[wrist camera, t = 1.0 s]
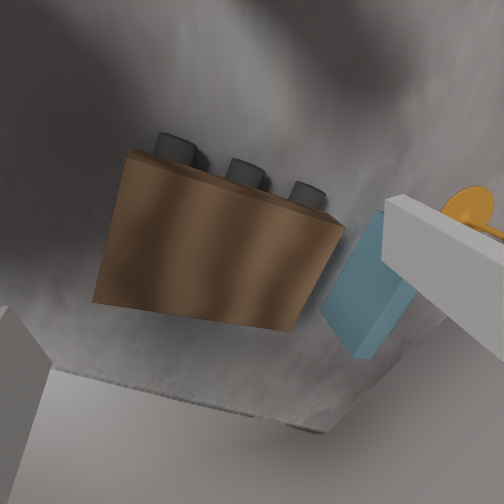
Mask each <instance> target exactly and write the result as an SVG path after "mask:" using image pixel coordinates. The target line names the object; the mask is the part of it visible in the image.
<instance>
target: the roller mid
mask: <svg viewBox="0 0 504 504" xmlns="http://www.w3.org/2000/svg"><path fill="white" fill-rule="evenodd" d="M264 173H265V171H264V170H262V169H261V168H259V167H257V166H255V165H253V164H250V163H247V162H244V161H242V160H239V159H235V158H232V161H231V163H230V166H229V169H228V172H227V175H226V177H225V179H228V180H231V181H234V182H237V183H240V184H243V185H246V186H249V187H252V188H255V189H258V188H259V186H260V183H261V181H262V178H263V176H264Z"/></svg>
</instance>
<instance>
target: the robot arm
mask: <svg viewBox="0 0 504 504" xmlns="http://www.w3.org/2000/svg"><path fill="white" fill-rule="evenodd" d="M381 261H383V262H384V263H385V264H386V265H387V266H389V267H390V268H391V269H392V270H393V271H395V272H396V273H397V274H398V275H399V276H401V277H402V278H403V279H404V280H405V281H407V282H408V283H409V284H410V285H411V286H413V287H414V288H415V289H416V290H417V291H419V292H420V293H421V294H422V295H423V296H425V297H426V298H427V299H428V300H429V301H431V302H432V303H433V304H434V305H435V306H437V307H438V308H439V309H440V310H441V311H443V312H444V313H445V314H446V315H447V316H449V317H450V318H451V319H452V320H454V321H455V322H456V323H457V324H458V325H459V326H461V327H462V328H463V329H464V330H465V331H467V332H468V333H469V334H470V335H472V336H473V337H474V338H475V339H476V340H477V341H479V342H480V343H481V344H482V345H484V346H485V347H486V348H487V349H488V350H489V351H491V352H492V353H493V354H494V355H495V356H497V357H498V358H499V359H501V360H502V361H503V362H504V244H502V243H500V242H498V241H496V240H494V239H492V238H490V237H488V236H486V235H484V234H482V233H480V232H478V231H476V230H474V229H472V228H470V227H468V226H466V225H464V224H462V223H460V222H458V221H456V220H454V219H452V218H450V217H448V216H446V215H444V214H442V213H440V212H438V211H436V210H434V209H432V208H430V207H428V206H426V205H424V204H422V203H420V202H418V201H416V200H414V199H412V198H410V197H408V196H406V195H404V194H402V195H399V196H395V197H391V198H388V199H385V210H384V224H383V239H382V253H381ZM51 365H52V362H51V360H50V359H49V358H48V356H47V355H46V354H45V352H44V351H43V350H42V348H41V347H40V346H39V344H38V343H37V342H36V340H35V339H34V338H33V336H32V335H31V333H30V332H29V331H28V329H27V328H26V327H25V325H24V324H23V323H22V321H21V320H20V319H19V317H18V316H17V315H16V313H15V312H14V311H13V309H12V308H11V307H10V305H7V306H3V307H0V504H7V502H8V499H9V496H10V493H11V490H12V487H13V483H14V480H15V477H16V474H17V471H18V468H19V465H20V461H21V458H22V455H23V452H24V449H25V445H26V443H27V440H28V437H29V434H30V430H31V427H32V424H33V421H34V418H35V415H36V412H37V409H38V406H39V402H40V399H41V396H42V393H43V390H44V387H45V384H46V381H47V377H48V374H49V371H50V368H51Z"/></svg>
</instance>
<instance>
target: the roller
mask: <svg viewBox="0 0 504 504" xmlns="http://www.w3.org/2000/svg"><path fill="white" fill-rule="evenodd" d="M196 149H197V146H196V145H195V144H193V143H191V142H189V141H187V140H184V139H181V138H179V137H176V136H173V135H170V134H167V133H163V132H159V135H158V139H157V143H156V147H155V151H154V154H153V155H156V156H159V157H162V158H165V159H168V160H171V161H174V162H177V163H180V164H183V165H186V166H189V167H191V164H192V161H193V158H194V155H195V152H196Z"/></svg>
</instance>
